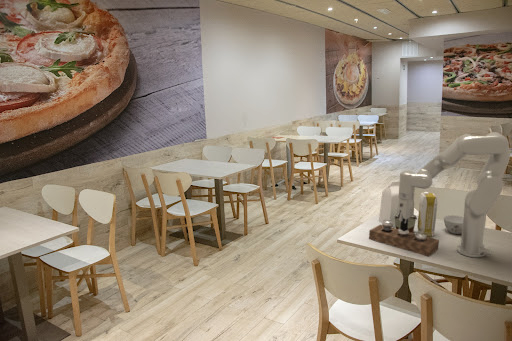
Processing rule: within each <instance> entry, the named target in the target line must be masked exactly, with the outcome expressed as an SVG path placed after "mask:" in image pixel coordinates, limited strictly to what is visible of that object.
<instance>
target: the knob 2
mask: <svg viewBox="0 0 512 341" xmlns="http://www.w3.org/2000/svg"><path fill="white" fill-rule="evenodd" d="M398 235H399V236H402V237H407V236H408V235H409V230H406V231H405V230H401V229H400V228H399V229H398Z"/></svg>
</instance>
